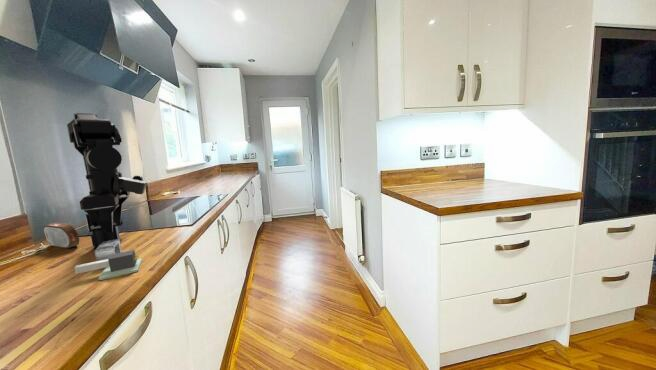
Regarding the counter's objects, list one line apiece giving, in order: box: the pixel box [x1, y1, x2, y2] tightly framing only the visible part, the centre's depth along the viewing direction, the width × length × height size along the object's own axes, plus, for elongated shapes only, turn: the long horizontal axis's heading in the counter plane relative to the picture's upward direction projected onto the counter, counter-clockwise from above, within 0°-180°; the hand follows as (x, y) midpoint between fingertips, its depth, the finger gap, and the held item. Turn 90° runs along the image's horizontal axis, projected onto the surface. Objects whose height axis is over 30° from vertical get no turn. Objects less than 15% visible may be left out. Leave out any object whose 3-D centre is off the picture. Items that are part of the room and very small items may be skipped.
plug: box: [74, 249, 140, 274], centre depth 68 cm, size 13×4×4 cm, turn 118°
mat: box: [98, 257, 143, 281], centre depth 69 cm, size 8×8×1 cm
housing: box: [94, 239, 123, 261], centre depth 75 cm, size 4×8×5 cm, turn 29°
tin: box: [42, 221, 80, 249], centre depth 88 cm, size 15×3×8 cm, turn 71°
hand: (114, 227), depth 67 cm, fingers open, 9 cm apart
